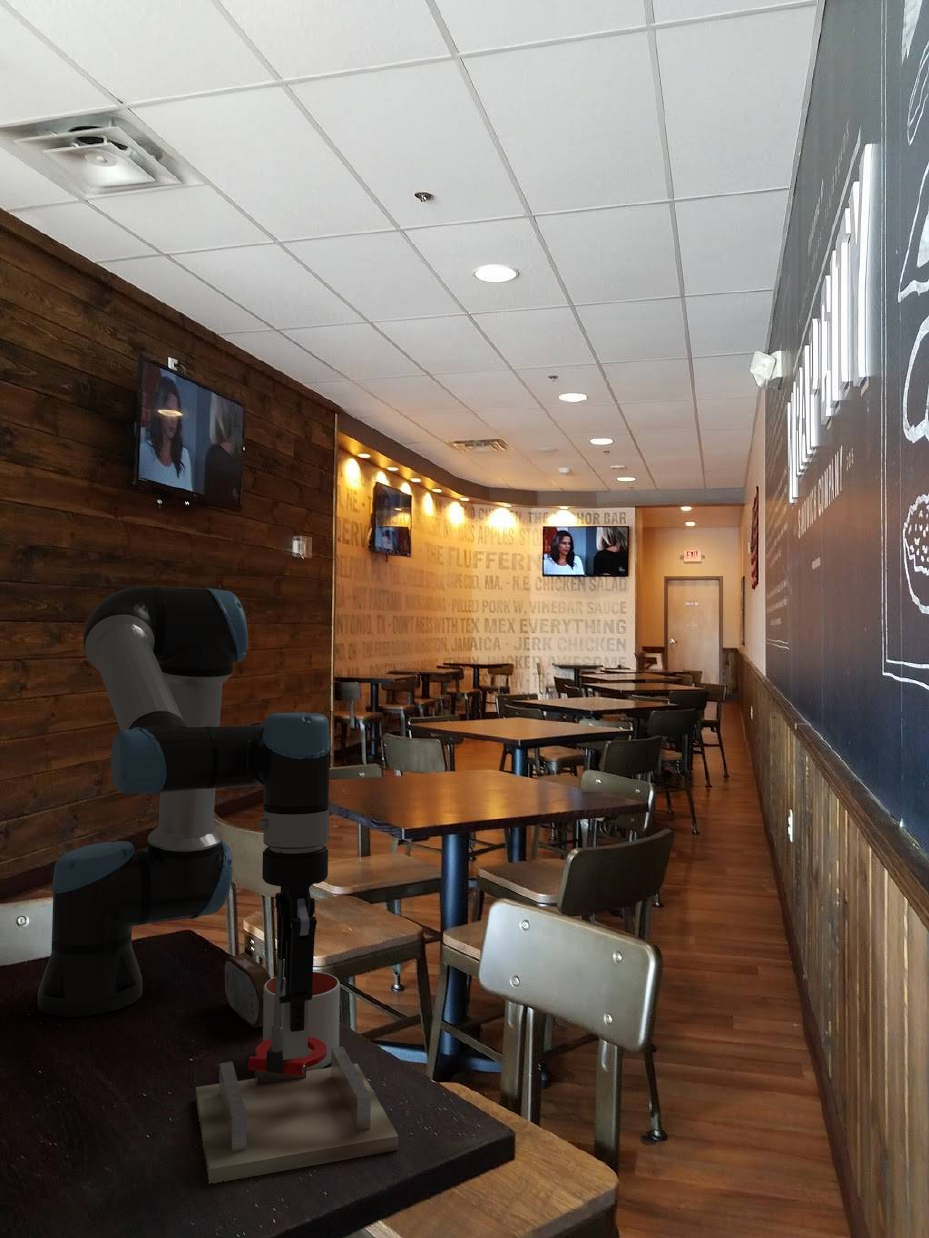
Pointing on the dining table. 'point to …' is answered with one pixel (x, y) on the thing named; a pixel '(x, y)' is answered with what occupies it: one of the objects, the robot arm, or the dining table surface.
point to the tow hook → (272, 1049)
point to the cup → (312, 1013)
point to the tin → (245, 987)
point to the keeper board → (289, 1127)
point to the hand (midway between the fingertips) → (293, 1051)
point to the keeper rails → (341, 1074)
